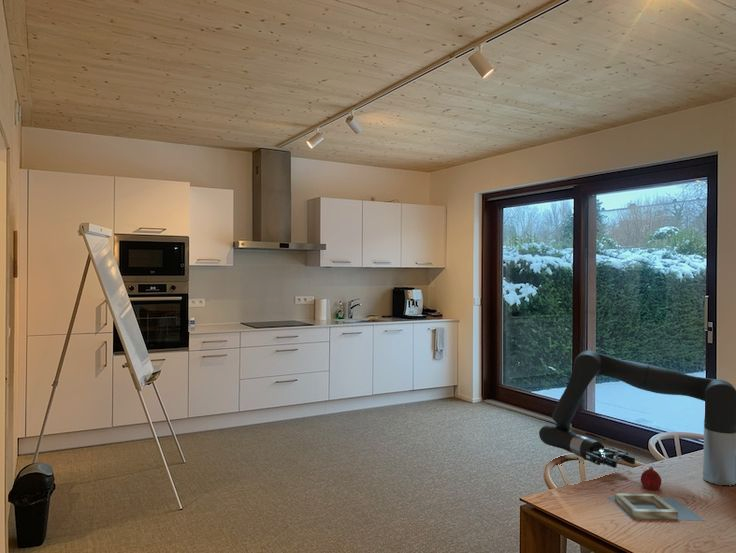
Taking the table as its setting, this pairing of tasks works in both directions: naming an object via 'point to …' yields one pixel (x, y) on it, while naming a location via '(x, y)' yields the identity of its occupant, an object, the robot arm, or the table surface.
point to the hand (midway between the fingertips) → (625, 463)
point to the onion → (651, 479)
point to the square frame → (661, 513)
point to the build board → (682, 510)
